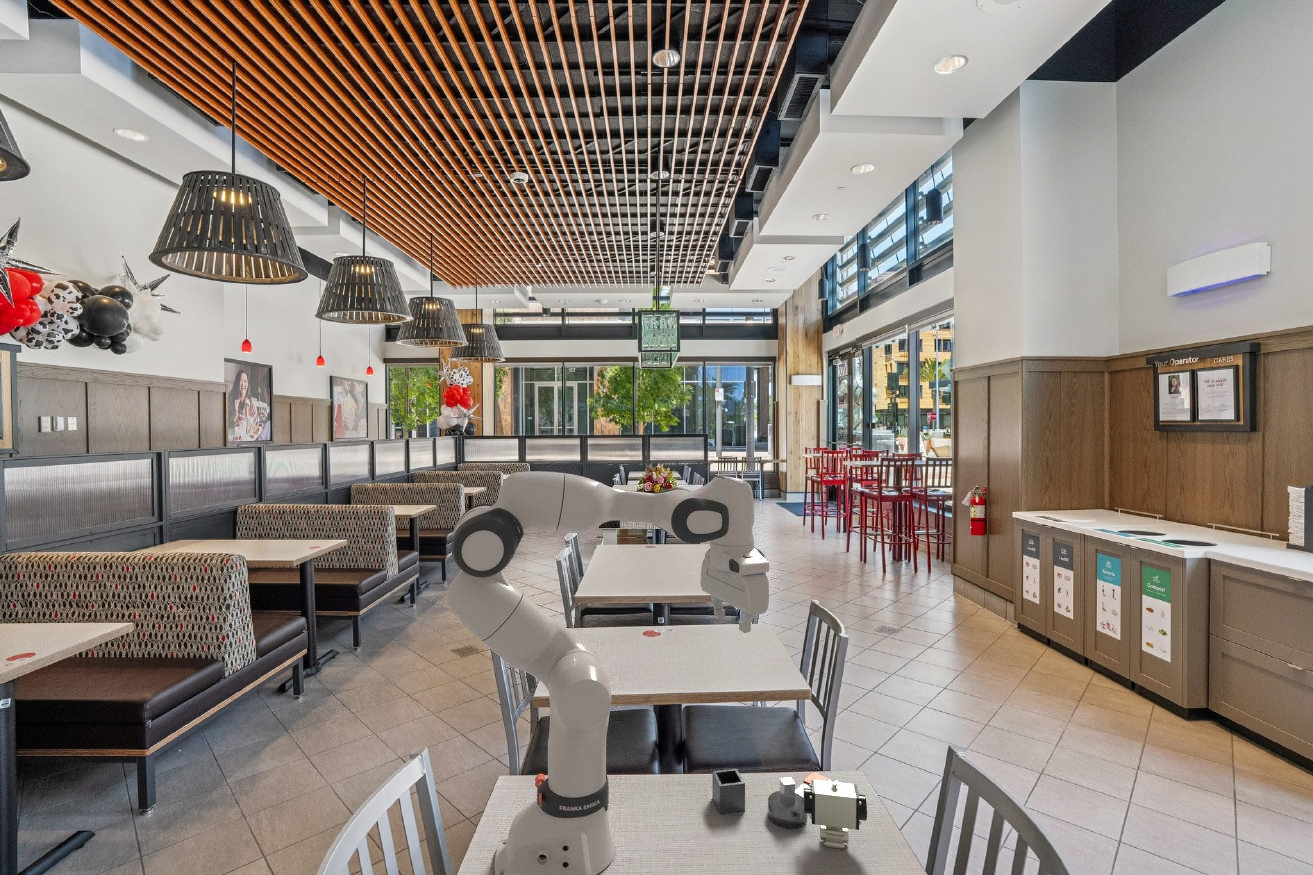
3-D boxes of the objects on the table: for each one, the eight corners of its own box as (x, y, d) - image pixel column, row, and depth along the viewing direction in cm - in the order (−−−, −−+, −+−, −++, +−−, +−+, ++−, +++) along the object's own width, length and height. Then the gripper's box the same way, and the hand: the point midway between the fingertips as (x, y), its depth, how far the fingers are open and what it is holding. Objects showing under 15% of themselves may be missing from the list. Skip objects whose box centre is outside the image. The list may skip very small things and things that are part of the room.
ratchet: (793, 834, 123) (793, 797, 122) (760, 816, 128) (760, 781, 128) (837, 795, 135) (837, 761, 135) (805, 780, 141) (805, 748, 141)
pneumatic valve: (866, 855, 117) (867, 793, 116) (803, 846, 119) (804, 786, 119) (863, 836, 122) (863, 777, 122) (803, 828, 124) (803, 770, 124)
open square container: (719, 814, 129) (719, 786, 129) (712, 798, 134) (712, 771, 134) (745, 811, 130) (745, 783, 130) (736, 795, 135) (736, 768, 135)
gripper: (693, 548, 131) (693, 611, 131) (746, 568, 113) (746, 642, 113) (718, 545, 134) (718, 608, 134) (774, 565, 115) (774, 637, 116)
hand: (731, 624), depth 123 cm, fingers open, 8 cm apart
